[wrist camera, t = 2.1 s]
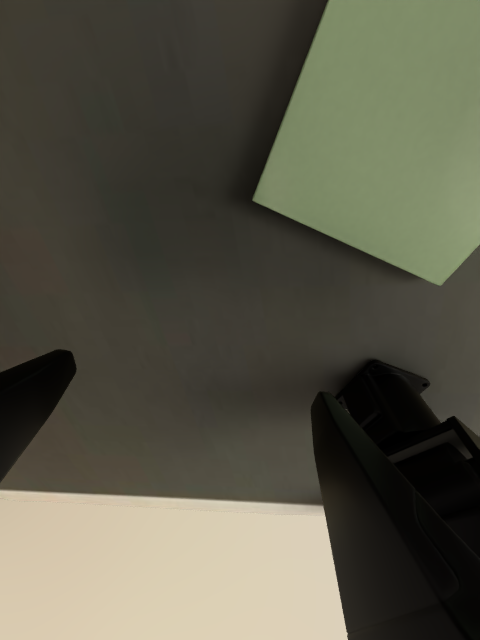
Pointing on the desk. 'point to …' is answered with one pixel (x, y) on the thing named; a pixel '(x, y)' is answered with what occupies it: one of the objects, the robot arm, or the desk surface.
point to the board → (386, 133)
